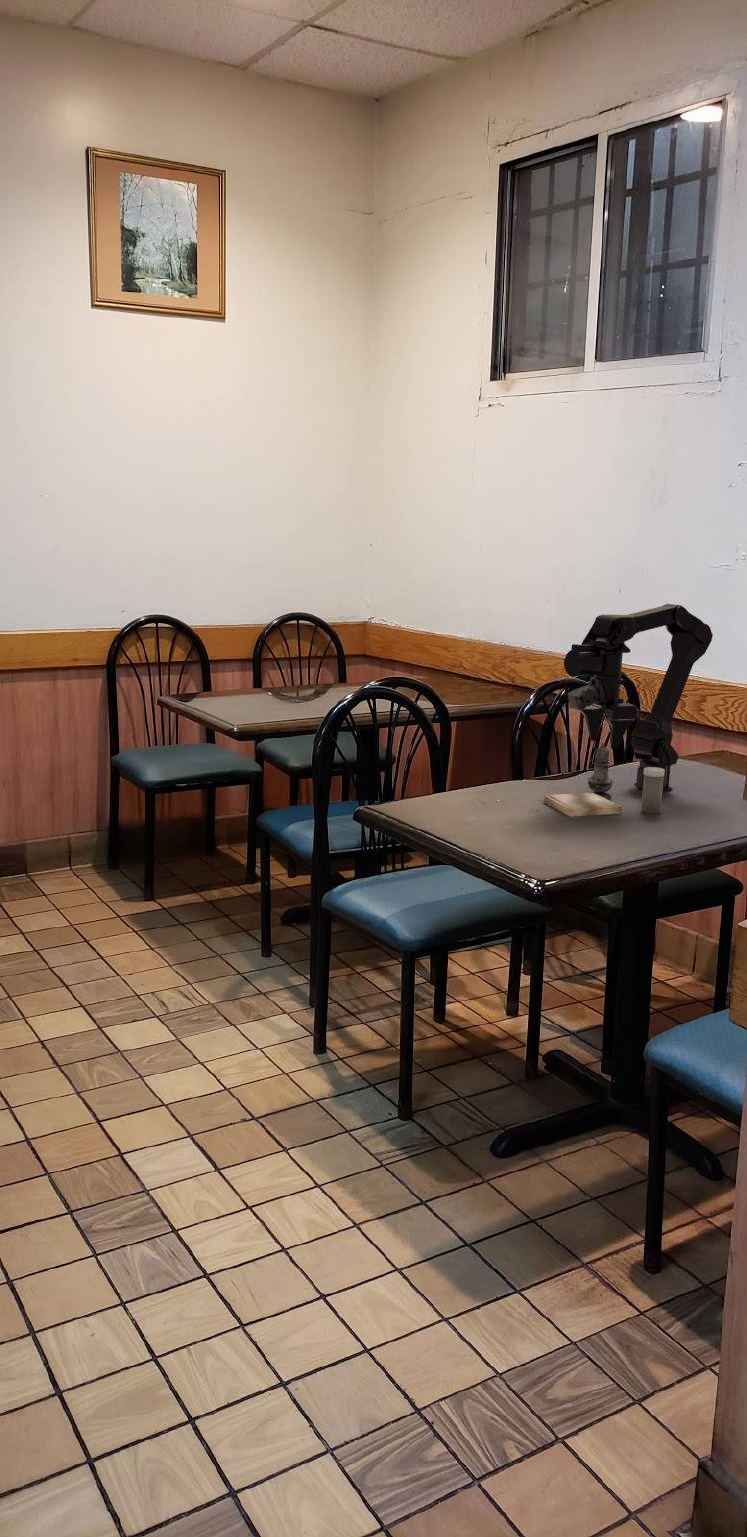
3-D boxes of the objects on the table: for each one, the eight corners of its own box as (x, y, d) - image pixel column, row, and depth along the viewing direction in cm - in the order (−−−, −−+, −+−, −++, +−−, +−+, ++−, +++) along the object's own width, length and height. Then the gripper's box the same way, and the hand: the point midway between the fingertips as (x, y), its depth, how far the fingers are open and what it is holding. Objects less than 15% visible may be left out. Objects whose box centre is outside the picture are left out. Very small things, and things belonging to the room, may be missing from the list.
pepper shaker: (654, 808, 252) (657, 766, 250) (664, 813, 248) (668, 771, 246) (636, 809, 251) (640, 767, 249) (647, 814, 247) (650, 771, 245)
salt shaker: (614, 799, 259) (618, 745, 257) (587, 798, 259) (591, 744, 257) (610, 793, 265) (614, 740, 262) (583, 792, 265) (587, 739, 262)
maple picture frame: (593, 799, 258) (594, 791, 258) (621, 813, 247) (622, 805, 247) (543, 802, 255) (544, 794, 254) (569, 816, 244) (570, 808, 243)
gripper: (554, 668, 262) (550, 737, 266) (595, 681, 245) (590, 755, 249) (599, 667, 266) (595, 735, 269) (642, 680, 249) (637, 752, 252)
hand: (603, 744), depth 260 cm, fingers open, 9 cm apart
